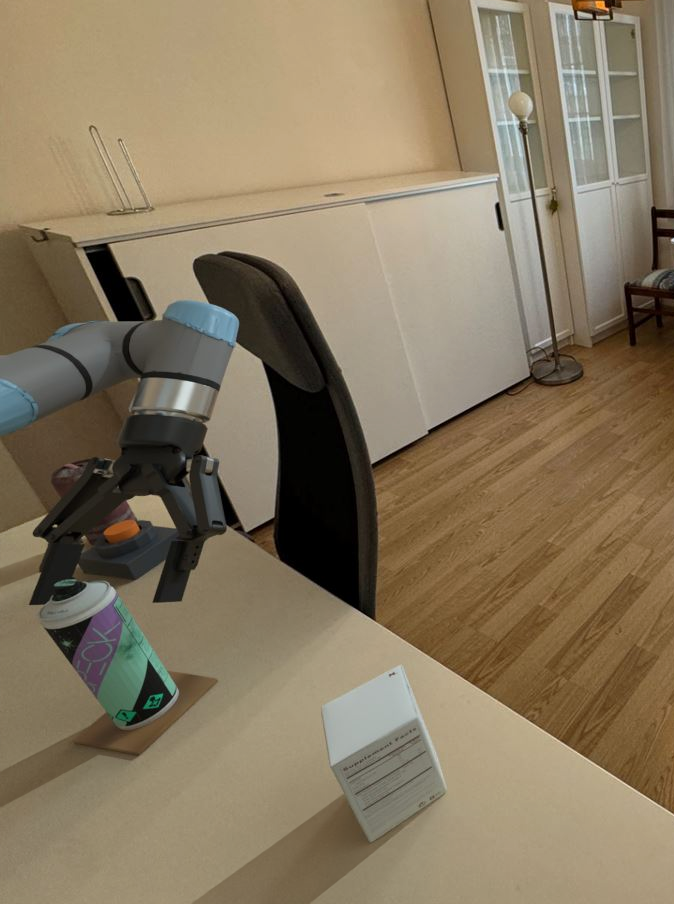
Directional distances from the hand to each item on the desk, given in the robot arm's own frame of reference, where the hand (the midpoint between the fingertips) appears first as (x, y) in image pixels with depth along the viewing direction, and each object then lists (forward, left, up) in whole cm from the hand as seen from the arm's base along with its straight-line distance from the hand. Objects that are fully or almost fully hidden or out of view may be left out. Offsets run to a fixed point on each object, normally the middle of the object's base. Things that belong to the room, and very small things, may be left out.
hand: (106, 603), depth 62 cm
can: (-39, +23, -15) cm, 48 cm away
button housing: (-29, +19, -15) cm, 38 cm away
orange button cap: (-29, +19, -11) cm, 37 cm away
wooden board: (+1, -2, -15) cm, 15 cm away
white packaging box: (+37, -5, -15) cm, 40 cm away
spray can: (+1, -2, -15) cm, 15 cm away
